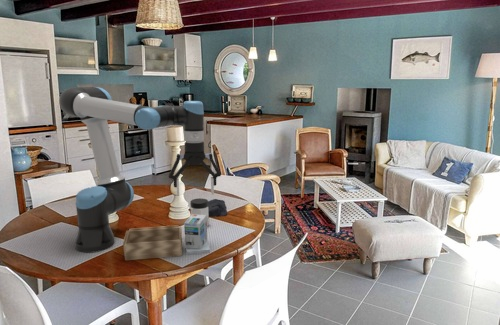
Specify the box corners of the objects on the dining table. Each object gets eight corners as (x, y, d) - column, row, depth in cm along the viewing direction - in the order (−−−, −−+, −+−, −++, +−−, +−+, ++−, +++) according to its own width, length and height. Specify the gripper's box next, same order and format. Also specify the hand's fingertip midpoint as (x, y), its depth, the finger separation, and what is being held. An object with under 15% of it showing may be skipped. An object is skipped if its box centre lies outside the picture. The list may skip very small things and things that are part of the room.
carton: (123, 261, 145) (122, 244, 144) (127, 244, 161) (126, 228, 159) (182, 255, 150) (182, 239, 148) (181, 240, 165) (180, 225, 164)
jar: (202, 220, 188) (201, 197, 186) (212, 225, 182) (212, 200, 180) (186, 225, 182) (186, 200, 180) (197, 230, 176) (196, 204, 174)
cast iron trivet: (228, 204, 216) (228, 196, 215) (227, 217, 194) (226, 208, 193) (200, 204, 215) (200, 196, 214) (196, 217, 194) (196, 208, 193)
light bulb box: (200, 249, 153) (200, 223, 150) (184, 248, 154) (183, 222, 152) (207, 239, 163) (207, 214, 161) (192, 238, 164) (191, 213, 162)
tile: (186, 254, 151) (186, 251, 151) (185, 240, 164) (185, 237, 164) (209, 252, 153) (209, 249, 152) (206, 238, 166) (206, 236, 166)
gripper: (161, 143, 144) (163, 198, 148) (227, 142, 149) (227, 195, 153) (161, 140, 151) (163, 193, 155) (224, 139, 156) (225, 190, 160)
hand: (195, 194), depth 154 cm, fingers open, 13 cm apart
